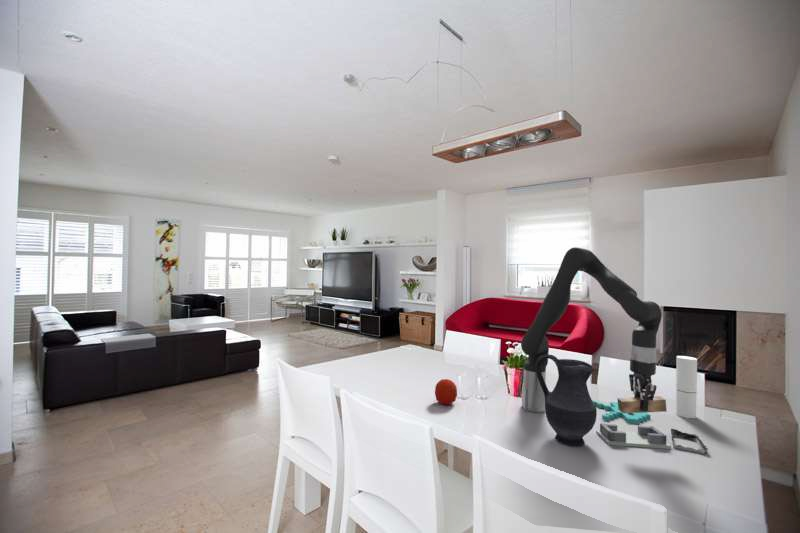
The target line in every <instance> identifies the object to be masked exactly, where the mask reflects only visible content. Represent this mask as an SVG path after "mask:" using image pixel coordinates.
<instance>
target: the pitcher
mask: <svg viewBox="0 0 800 533" xmlns="http://www.w3.org/2000/svg"><path fill="white" fill-rule="evenodd" d="M547 358H548V360H551V361H552V362H554V364H555V365H556V368H557V374H558V375H557V376H558V377H557V381H556V384H555V386H554V388H553V390H552V391H550V390H549V388H548V387H547V384H546V383H545V381H544V379H543V376H542V374H541V371H540V362H541V361H542V360H544V359H547ZM535 370H536V374H537V377H538V380H539V383H540V385H541V388H542V390H543V392H544V396H545V411H544V412H545V417H546V419H547V422H548V424H549V426H550V427H551V428H552V429H553V431H554V432H555V433H556V434H555V436H554V438H555V441H556V442H558V443H559V444H562V445H564V446H568V447H573V448H577V447H582V446H584V445H585V443H586V442H585V440H584V438H583V437H585V436H587V434H588V433H590V432H591V431H592V429H593V428H594V426H595V424H596V421H597V412H598V411H597V406H595V404H594V402H593V401H592V400H593V399H592V397H591V395H590V392H589V390H588V389H589V388H588V385H587V382H588V380H589V379H590V376H592V374H593V373H594V372H595V370H596V367H594V366H593V365H592V364H590V363H589V362H586V361H583V360H579V359H572V358H571V359H569V358H561V359H558V357H556V356H555V355H553V354H548V355H543V356H541V357H539V358H538V359H537V361H536V364H535Z"/></svg>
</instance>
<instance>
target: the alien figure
mask: <svg viewBox="0 0 800 533" xmlns="http://www.w3.org/2000/svg"><path fill="white" fill-rule="evenodd" d="M592 401H593V402H594V404H595V406H596V408H598V409H603V408H604V409H603V410H604V411H609V412H606V413H604V414H601V419H602V420H603V421H604V422H605V421H606V422H610V421H611V420H614V419H618V417H620V418H622V419H623V420H624V421H625V422H626V423H628V424H637V425H638V424H640V423H644V421H648V420H651V414H650V413H649V412H643V413H622V412H621V411H620V410H619V409H618V401H617V402H615V401H614V402H613V401H610V405H609V404H605V403H603V402H600V401H599V402H597V401H596V400H595V399H594V400H593V399H592Z"/></svg>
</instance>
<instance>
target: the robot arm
mask: <svg viewBox="0 0 800 533" xmlns="http://www.w3.org/2000/svg"><path fill="white" fill-rule="evenodd" d="M578 272H584V273H585V274H588V275H589V276H590V277H592V278H594V280H596V281H597V282H598V284H599V286H600V287H601V288H602V290H603V291H604V293H606V294H607V295H609V296H610V298H611V299H613V300H614V301H616V302H617V303H618V304H619V305H620V306H621V308H622V309H623V310H624V312H625V313H626V314H627V315H628V316H629V317H630V318H631V319H633V320H634V321H636V322H638V325H637V327H635V328H633V329H632V334H631V348H630V354H629V355H630V360H629V371H631V373H633V374H628V378H629V386H630V387H629V388H630V391H631V392H632V393H633V395H634V397H641V399H640V401H641V402H640V410H642V411H648V401H649V400H653V398H654V396H656V395H655V394H656V391H657V385H656V384H653V383H652V376H654V375H656V373H657V370H656V369H657V367H656V366H657V334H658V331H659V327H660V325H661V321H662V316H663V315H662V314H663V313H662V309H661V307H660V305H659V304H658V303H656V302H655V301H646V300H645V301H643V300H641V299H640V298H639V297H638V293H637V291H636V290H635V288H633V287H631V286H630V285H629V284H628V283H626V282H625V281H624V280H622V279H621V278H620V277H618V276H617V275H616V274H615V273H613V272H612V271H611V269H609V268H608V267H607V266H606V265H604V263H603V262H602V261H601V260H600V259H599V258H598V256H596V255H595V254H594V252H593V251H592V250H590V249H588V248H582V247H577V246H575V247H571V248H569V249H568V250H567V251H566V252H565V254H564V256H563V259H562V260H561V263H560V266H559V269H558V270H557V274H556V276H555V278H554V280H553V282H552V285H551V286H550V288H549V290H548V292H547V293H546V296H545V297H544V299H543V301H542V303H541V305H540V308H539V309H538V311H537V313H536V315H535V318H534V320H533V322H532V324H531V325H530V326H529V328H528V330H526V332H525V334H524V336H523V337H522V339H521V341H520V347H521V350H522V352H523V353H524V354H525V355H527V356H528V357H527V358H526V360H525V361H524V363H523V383H522V385H521V386H522V387H521V406H522V408H523V410H524V411H528V412H533V413H543V412H545V396H544V392H543V390H542V388H541V385H540V383H539V380H538V377H537V374H536V370H535V364H536V361H537V359H538V358H539V357H541V356H543V355H549V352H550V351H549V349H550V345H549V340H548V338H547V336H546V335H547V334H548V332H549V331H550V329H551V328H552V327H553V326H554V325H555V324H556V323H557V322H558V321H560V319H561V317H562V316H563V315H564V314H565V312H566V310H567V308H568V306H569V304H570V301H571V291H572V290H571V287H572V283H573V281H574V278H575V276H576V275H577V274H578ZM548 364H549V358H547V359H544V360H542V361H541V362H540V371H541V374H542V376H543V379H544V381H545V383H546V378H547V376H546V375H547V372H546V371H547V367H548Z"/></svg>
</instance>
